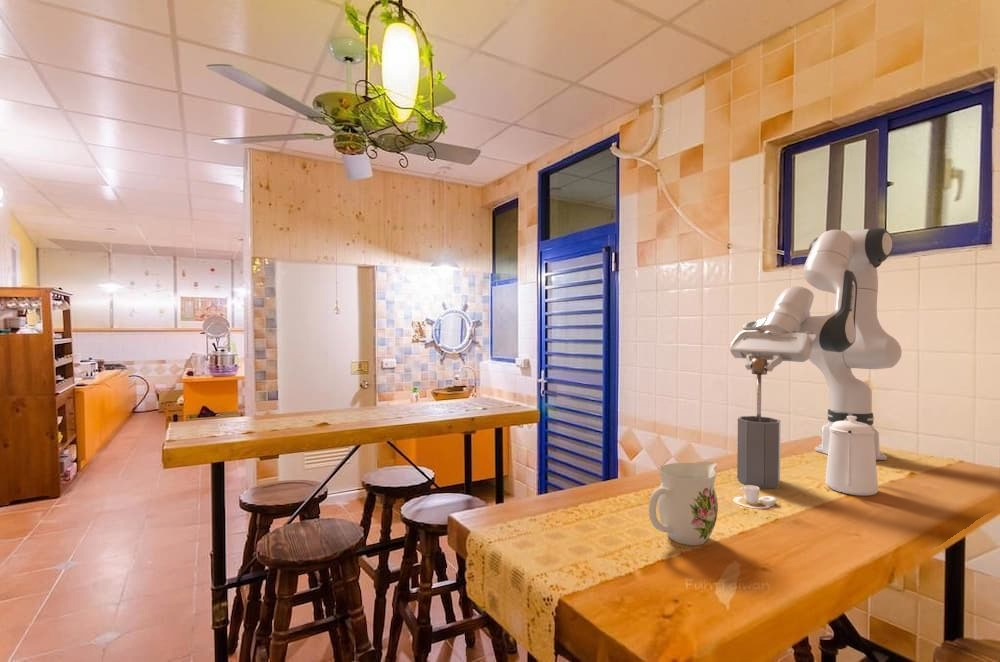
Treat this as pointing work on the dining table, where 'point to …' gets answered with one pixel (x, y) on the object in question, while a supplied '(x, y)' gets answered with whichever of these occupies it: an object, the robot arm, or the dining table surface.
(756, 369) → the plunger
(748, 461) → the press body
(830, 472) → the coffeepot
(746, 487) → the teacup and saucer
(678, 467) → the pitcher
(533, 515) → the dining table surface
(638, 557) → the dining table surface
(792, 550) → the dining table surface
